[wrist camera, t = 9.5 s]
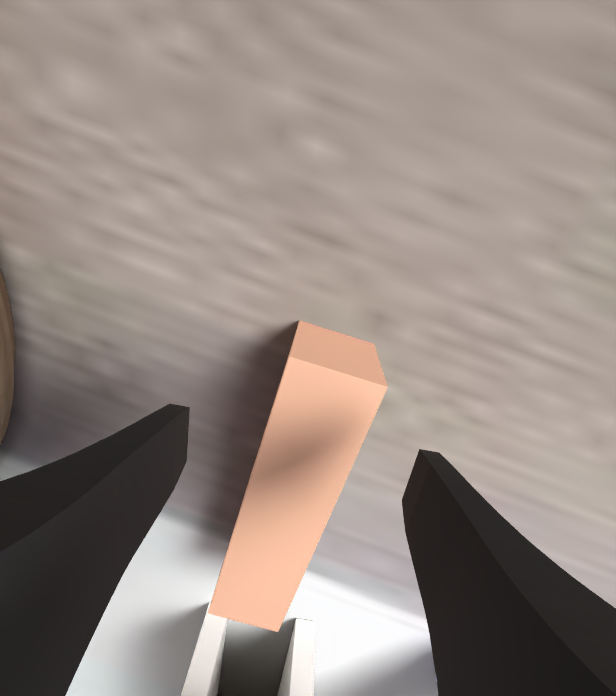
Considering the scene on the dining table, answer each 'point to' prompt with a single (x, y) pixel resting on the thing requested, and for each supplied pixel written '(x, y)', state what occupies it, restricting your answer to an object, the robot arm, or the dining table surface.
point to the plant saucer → (6, 359)
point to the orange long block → (298, 472)
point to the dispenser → (209, 654)
